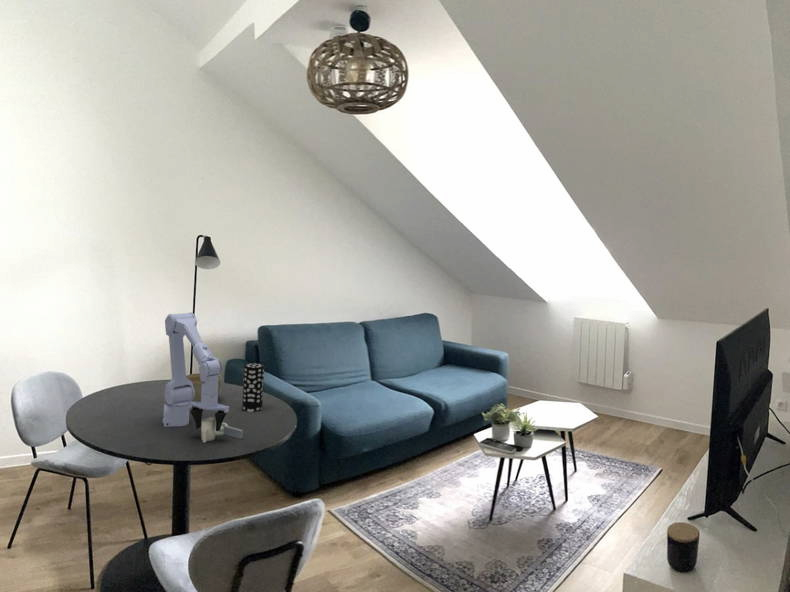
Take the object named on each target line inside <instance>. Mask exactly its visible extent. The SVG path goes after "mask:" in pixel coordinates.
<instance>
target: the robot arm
mask: <svg viewBox="0 0 790 592" xmlns="http://www.w3.org/2000/svg"><path fill="white" fill-rule="evenodd" d="M197 324H198V320H197V317H196V315H195V314H194V313H193V312H186V313H182V312H181V313H169V314H167V316H166V318H165V320H164V325H165V335H166V336H168V341H169V342H168V343H169V355H170V357H169V358H170V367H171V369H170V371H171V379H170V381H168V382H167V383H166V384H165V387H164V388H165V389H164V390H165V391H164V400H165V402H166V403H165V404H163V418H162V424H163V427H164V428H165V427H166V428H167V427H169V428H170V427H185V426H187V425H189V424H190V423H189V422H190V414H191V415H192V418H193V419H194V423H195V427H196V429H200V428H201V420H202V419H203V418H202V417H203V411H204V410H207V411H208V410H209V411H215V413H214V419H215V422H216V431H219V430H220V429H221V425H222V422H224V419H225V417H226V415H227V414H228V413H229V411H230V406H229V405H223V404H221V403H218V402H219V401H218V400H219V399H218V398H219V392H218V377H219V376H220V375H221V374H222V372H223V364H222V362H221V360H220V359H219V358H217V357H216V356H214V355H213V353H212V351H211V349H210V347H209V345H208V344H206V343H203V340H202V339H201V335H200V333H199V331H198V329H197V326H198V325H197ZM184 337H186V338H187V340H188V342H189V343H190V344H191V346H192V354H193V356H194V358H195V360H196V361H197V363H198V366H199V367H198V373H200V379H201V381H202V389H201V402H193V401H192V400H193V399H194V396H195V390H194V388H193V383H192V381H190V380H189V379H187V378H186V376H187V370H186V359H185V358H186V357H185V356H186V355H185V347H184ZM184 385H185V386H184ZM191 401H192V402H191ZM190 409H191V410H190Z"/></svg>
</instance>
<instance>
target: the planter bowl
mask: <svg viewBox="0 0 790 592" xmlns="http://www.w3.org/2000/svg"><path fill="white" fill-rule="evenodd" d="M186 378H187V379H189V380H190V381H192V383H193V388H194V390H195V396H194V399H193V400H192V401H193V402H201V389H202V381H201V379H200V373H199V372H197V373H191V374H186ZM222 381H223V378H222V376H220V375H219V377H218V393H219V391H220V390H221V385H222ZM183 386H185V385H183ZM192 401H191V402H192Z"/></svg>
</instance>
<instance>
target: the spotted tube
mask: <svg viewBox="0 0 790 592" xmlns="http://www.w3.org/2000/svg"><path fill="white" fill-rule="evenodd" d="M264 375H265V365H264V364H263V363H255V362H250V363H245V364H244V365H243V379H242V382H243V383H242V385H243V386H242V404H241V411H242V412H248V413H255V412H260V411H263V398H264V381H265V380H264V379H265V377H264Z"/></svg>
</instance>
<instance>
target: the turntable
mask: <svg viewBox="0 0 790 592" xmlns="http://www.w3.org/2000/svg"><path fill="white" fill-rule="evenodd" d="M223 435H226V436H228V437H232V438H236V439H239V440H242V439H243V438H244V437H243V436H244V430H243V429H240V428H237V427H232V426H230V425H228V423H226V422H224V421H223V422H222V425H221V429H220V430H219V431H216V421H215V437H216V436H218V437H219V436H223Z"/></svg>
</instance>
